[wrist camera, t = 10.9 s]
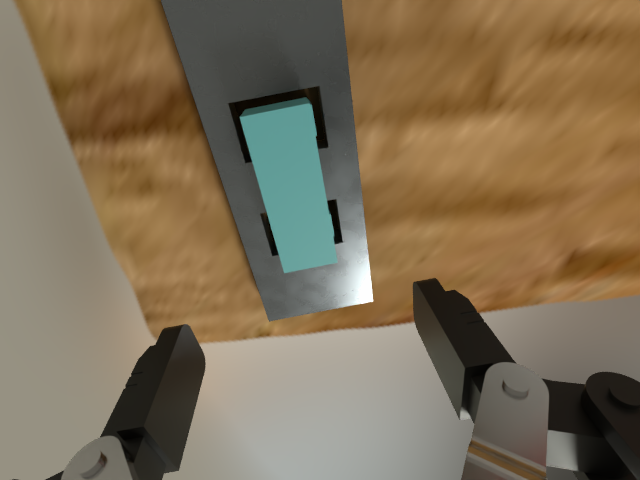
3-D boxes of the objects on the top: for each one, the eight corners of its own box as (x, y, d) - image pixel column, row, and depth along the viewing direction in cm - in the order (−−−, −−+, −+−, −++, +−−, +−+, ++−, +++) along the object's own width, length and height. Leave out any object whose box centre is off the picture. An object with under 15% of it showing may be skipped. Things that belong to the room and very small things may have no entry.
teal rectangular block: (307, 91, 23) (314, 102, 18) (330, 224, 29) (341, 261, 24) (246, 104, 23) (235, 118, 18) (281, 234, 29) (280, 273, 24)
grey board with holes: (329, -51, 19) (334, -64, 17) (367, 284, 32) (373, 301, 30) (165, -20, 19) (151, -29, 17) (270, 303, 32) (269, 321, 30)
